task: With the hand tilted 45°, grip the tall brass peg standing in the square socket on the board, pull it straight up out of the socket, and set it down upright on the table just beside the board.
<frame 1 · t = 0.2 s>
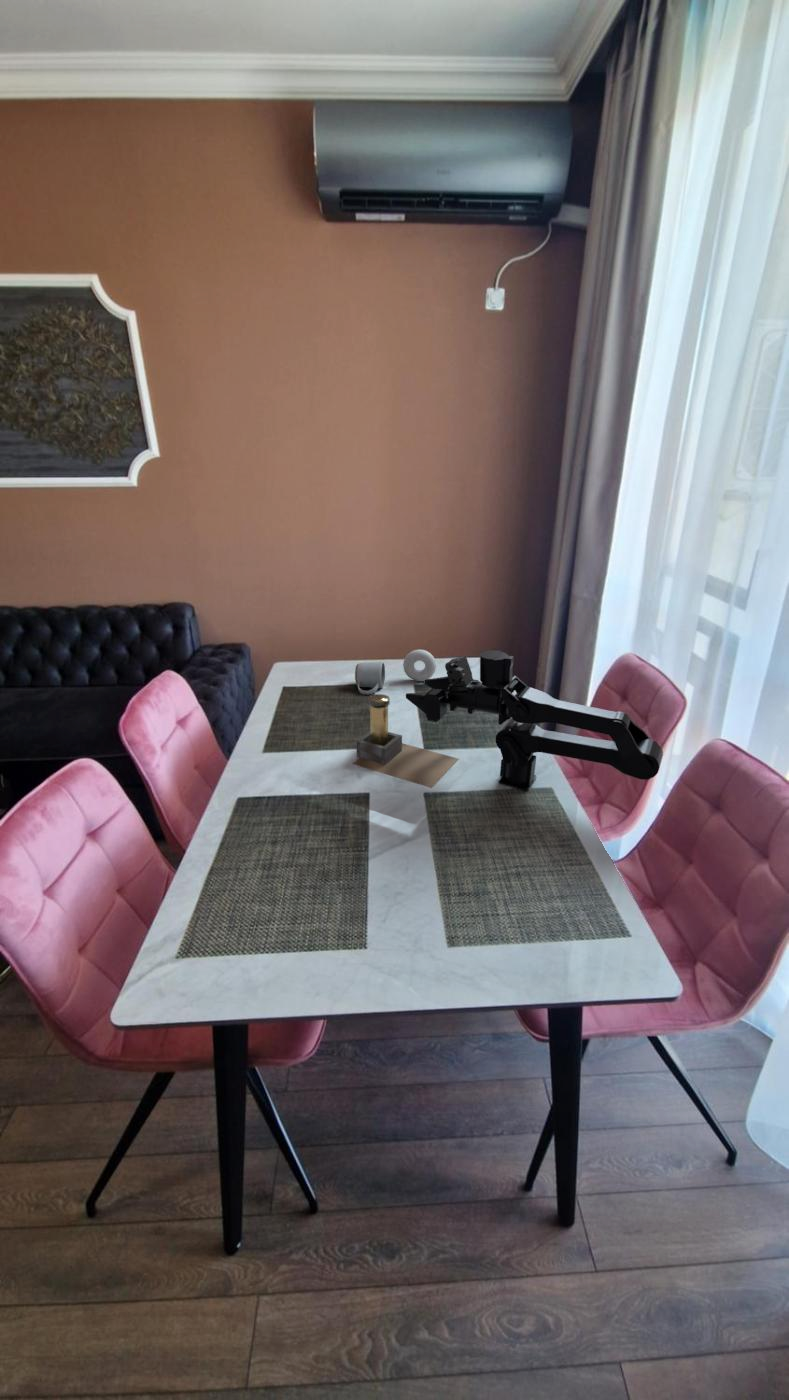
hand: (415, 688, 137), 17 cm above the table, tool horizontal, fingers open, 9 cm apart
board with square socket: (406, 766, 138), on the table
ceramic mug: (370, 688, 179), on the table
donut: (419, 681, 185), on the table
brass peg: (379, 753, 140), point 1 cm above the table, touching board with square socket
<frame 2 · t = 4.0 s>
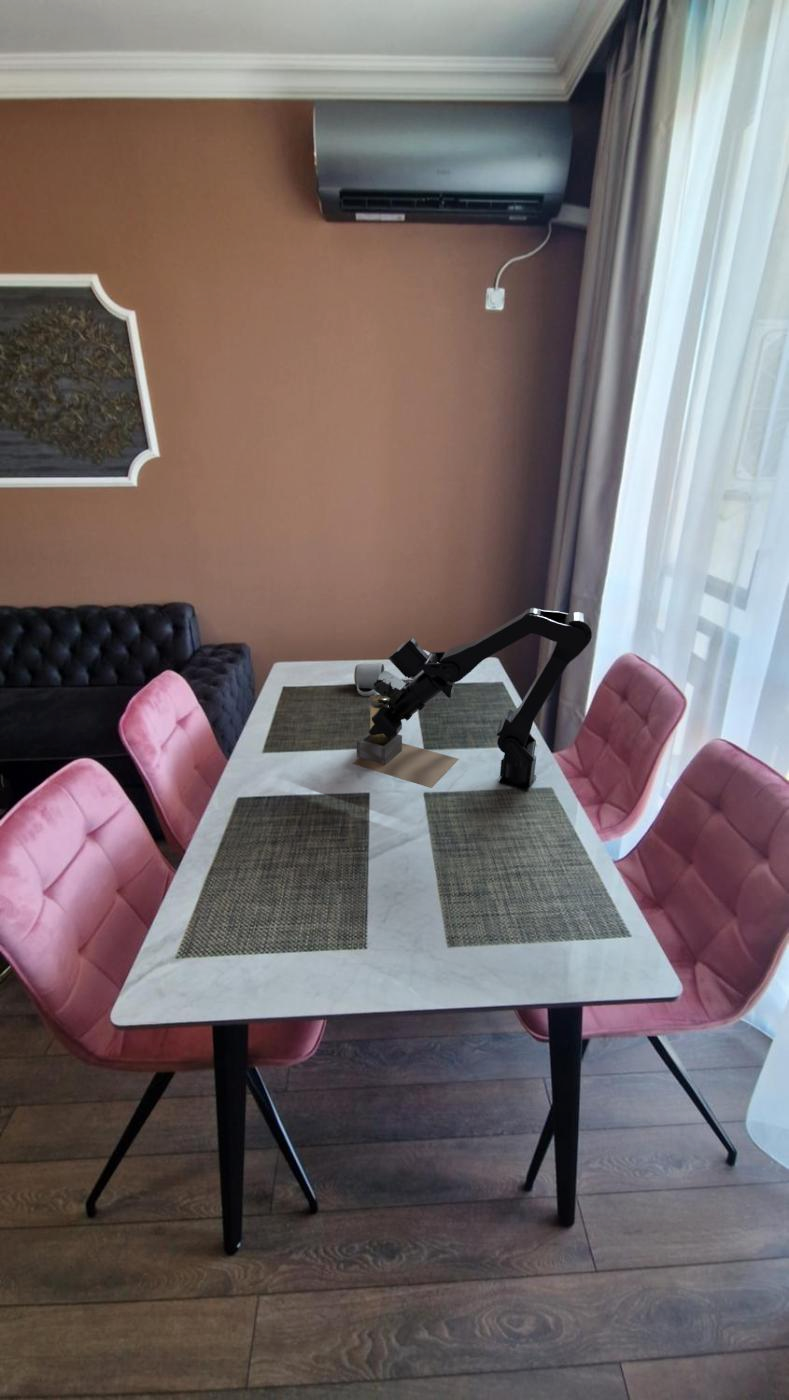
hand: (373, 729, 138), 8 cm above the table, tool tilted 45°, fingers closed on brass peg, 4 cm apart
brass peg: (379, 753, 140), point 2 cm above the table, touching board with square socket, gripper
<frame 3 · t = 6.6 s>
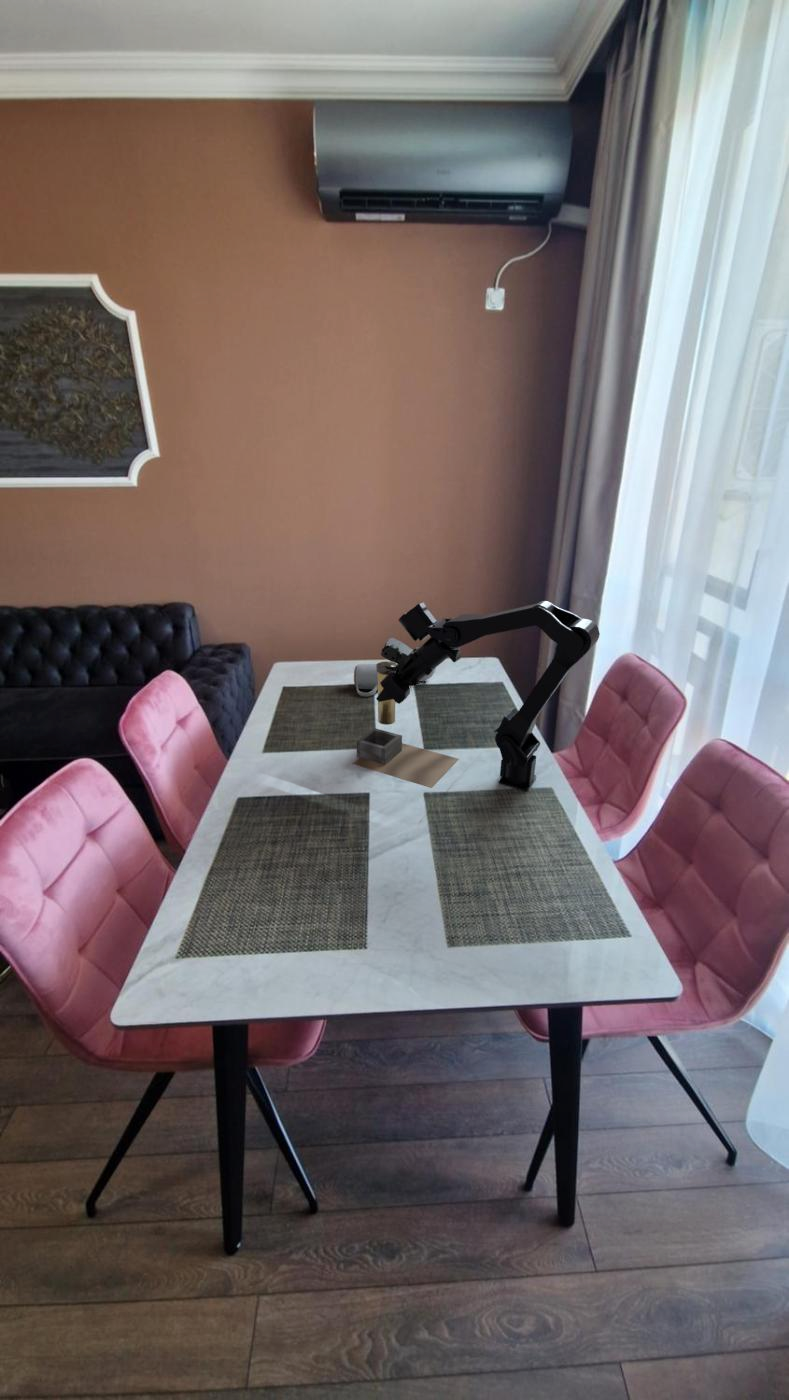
hand: (380, 696, 140), 14 cm above the table, tool tilted 45°, fingers closed on brass peg, 4 cm apart
brass peg: (386, 720, 142), point 7 cm above the table, touching gripper
when the fingers open (7 cm above the table, at t = 9.3 s): brass peg drops 1 cm, on the table.
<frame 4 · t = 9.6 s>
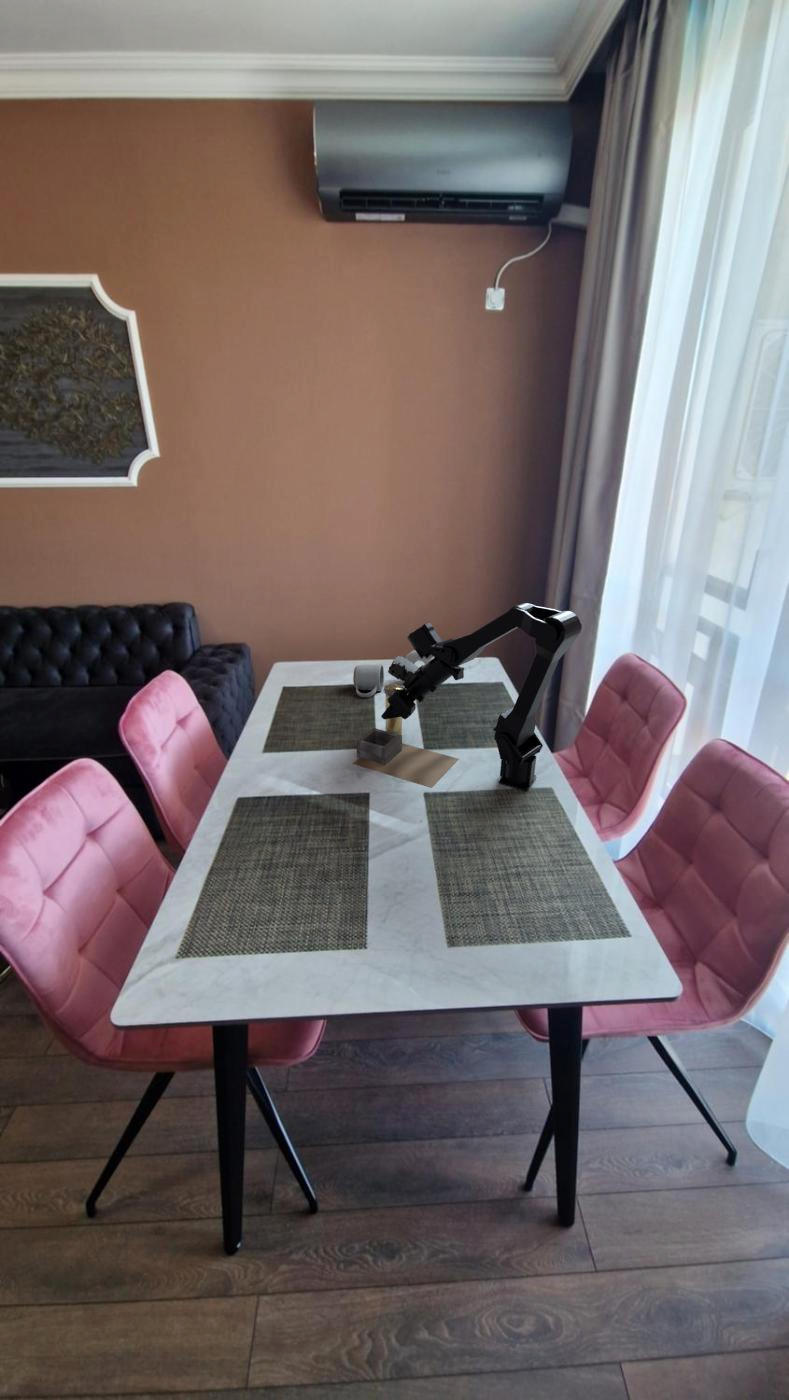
hand: (388, 711, 147), 8 cm above the table, tool tilted 45°, fingers open, 7 cm apart
brass peg: (393, 739, 150), on the table
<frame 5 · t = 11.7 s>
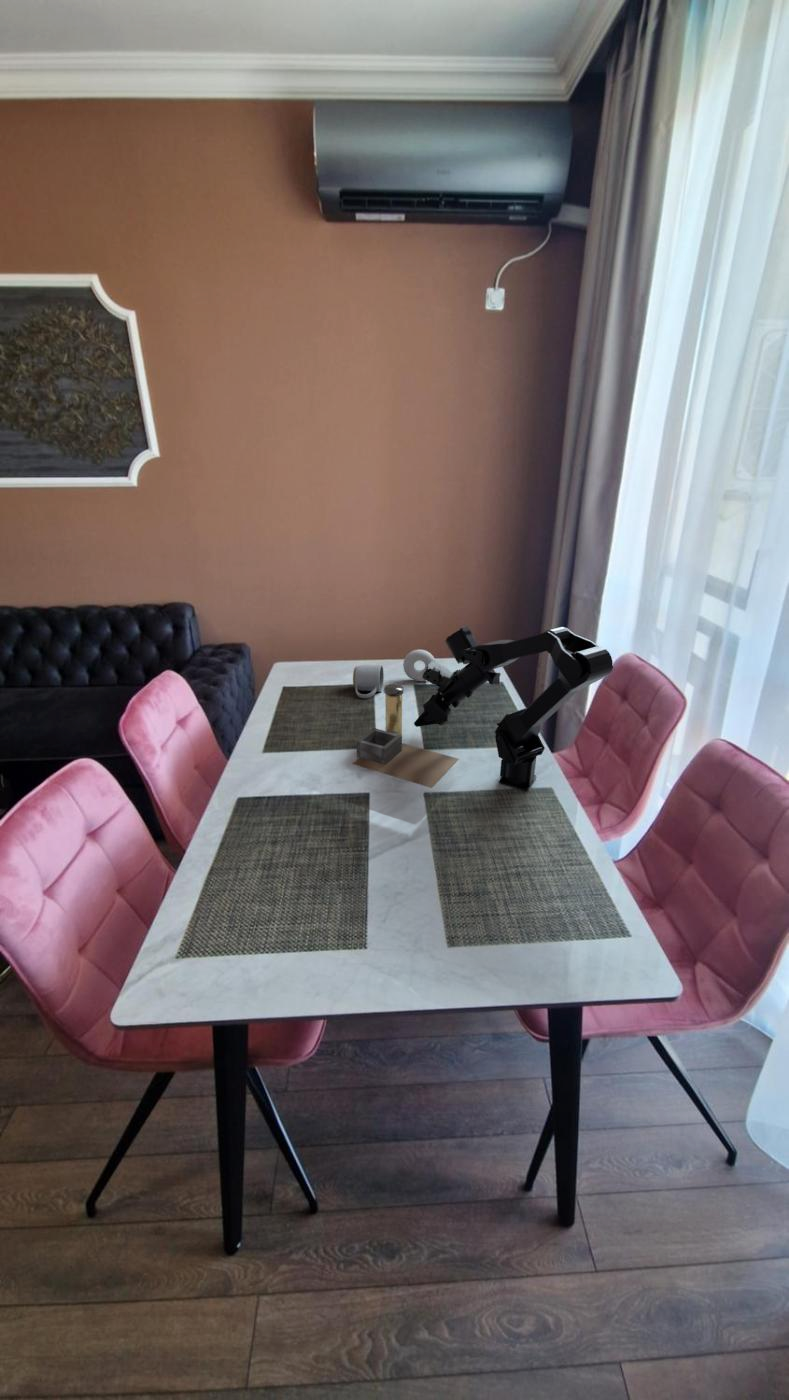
hand: (420, 716, 144), 7 cm above the table, tool tilted 45°, fingers open, 9 cm apart
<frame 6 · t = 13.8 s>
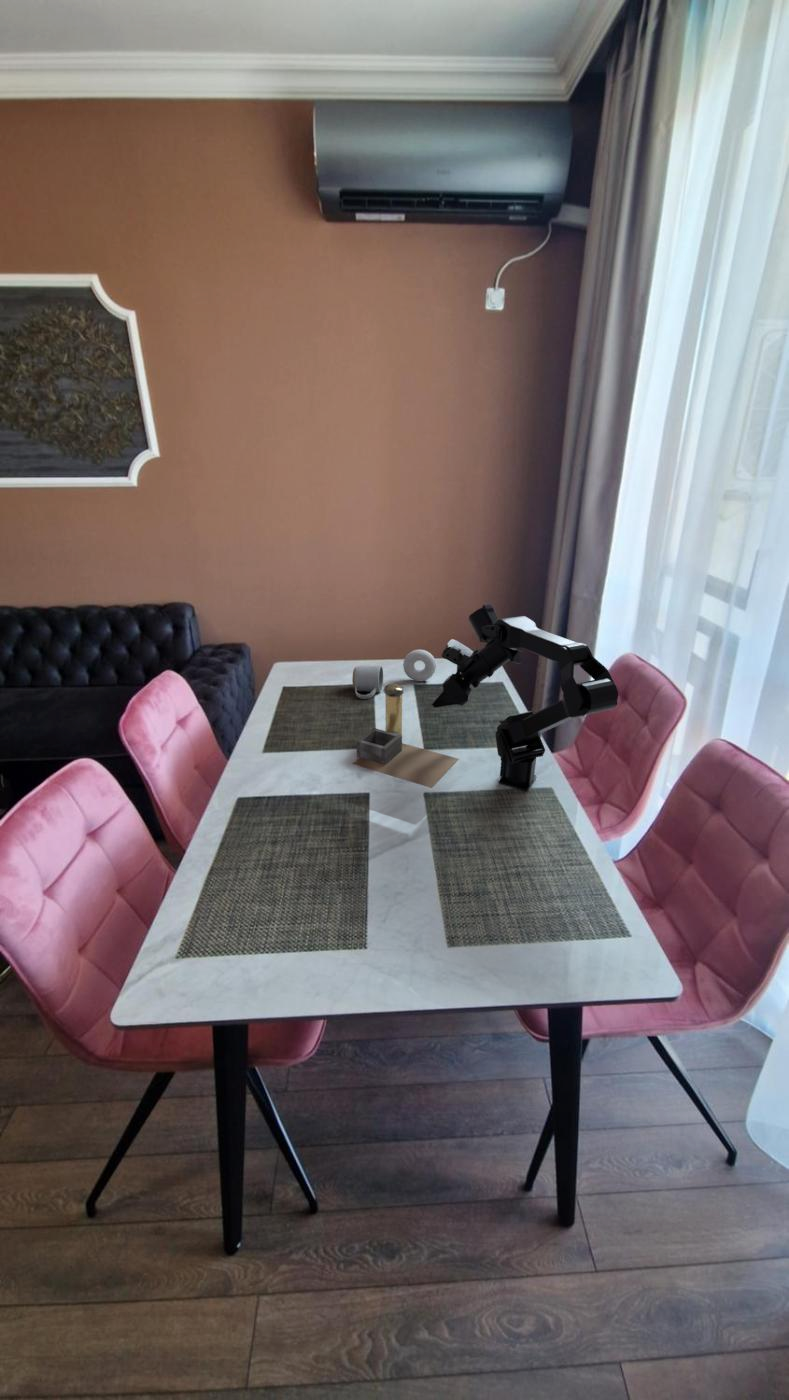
hand: (438, 697, 140), 14 cm above the table, tool tilted 45°, fingers open, 9 cm apart
at the end: brass peg inside the target area (0.1 cm from its centre), on the table; brass peg tilted 0°; the gripper is holding nothing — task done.
